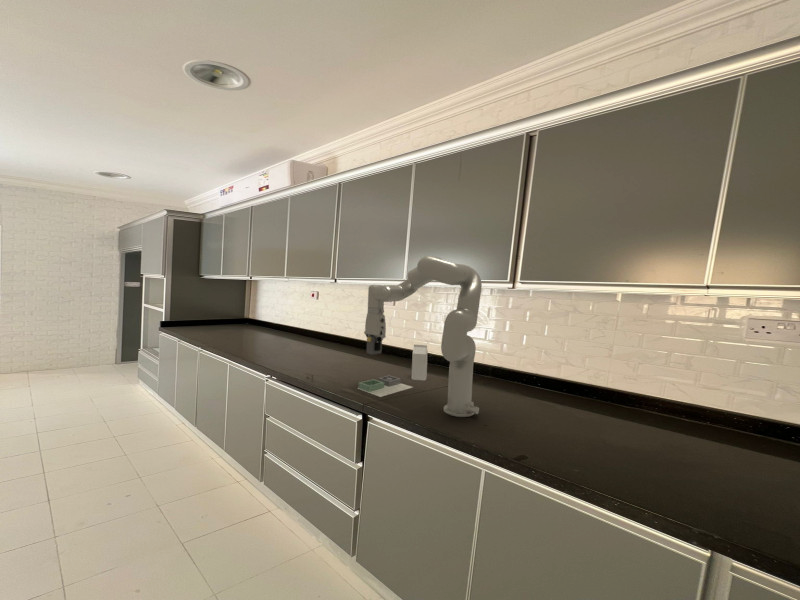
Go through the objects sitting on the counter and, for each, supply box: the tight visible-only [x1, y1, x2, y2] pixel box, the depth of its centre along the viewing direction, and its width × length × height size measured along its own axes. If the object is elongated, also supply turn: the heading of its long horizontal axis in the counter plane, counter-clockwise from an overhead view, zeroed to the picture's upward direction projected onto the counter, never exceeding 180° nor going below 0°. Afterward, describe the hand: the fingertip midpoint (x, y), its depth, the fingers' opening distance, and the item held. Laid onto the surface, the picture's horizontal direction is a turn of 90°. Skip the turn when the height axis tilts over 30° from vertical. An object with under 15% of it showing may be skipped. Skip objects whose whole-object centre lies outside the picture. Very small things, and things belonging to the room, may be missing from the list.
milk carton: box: [411, 344, 429, 382], centre depth 186 cm, size 7×7×19 cm
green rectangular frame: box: [358, 378, 384, 393], centre depth 166 cm, size 8×10×3 cm
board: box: [357, 374, 413, 398], centre depth 167 cm, size 16×22×4 cm
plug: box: [365, 336, 383, 356], centre depth 165 cm, size 4×7×8 cm, turn 136°
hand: (374, 349), depth 165 cm, fingers closed on plug, 4 cm apart
